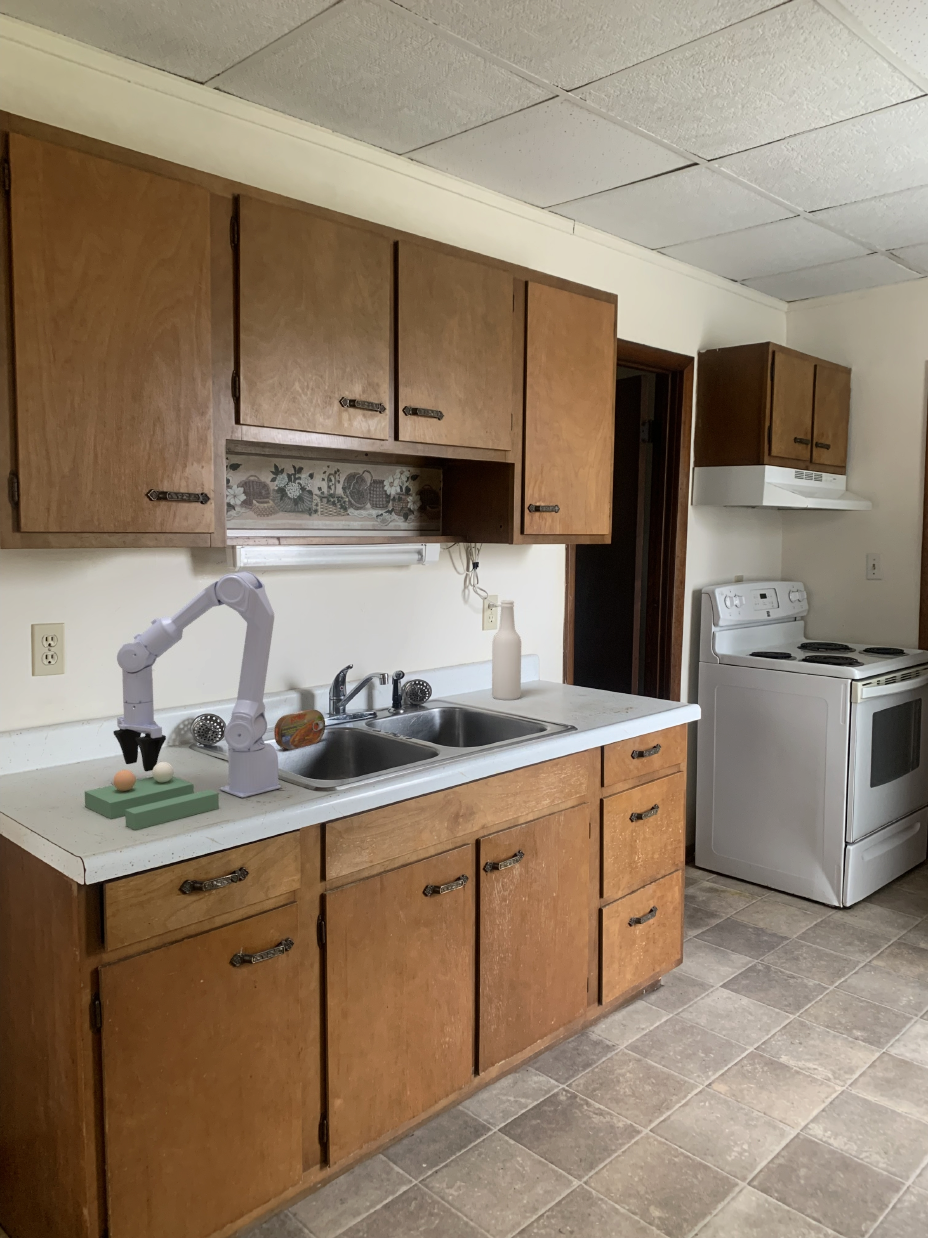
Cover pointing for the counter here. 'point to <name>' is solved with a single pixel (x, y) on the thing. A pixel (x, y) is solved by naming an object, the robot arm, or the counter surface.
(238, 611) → the robot arm
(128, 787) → the terracotta ball
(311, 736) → the tin
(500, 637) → the alcohol
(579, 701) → the counter surface
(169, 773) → the ivory ball
